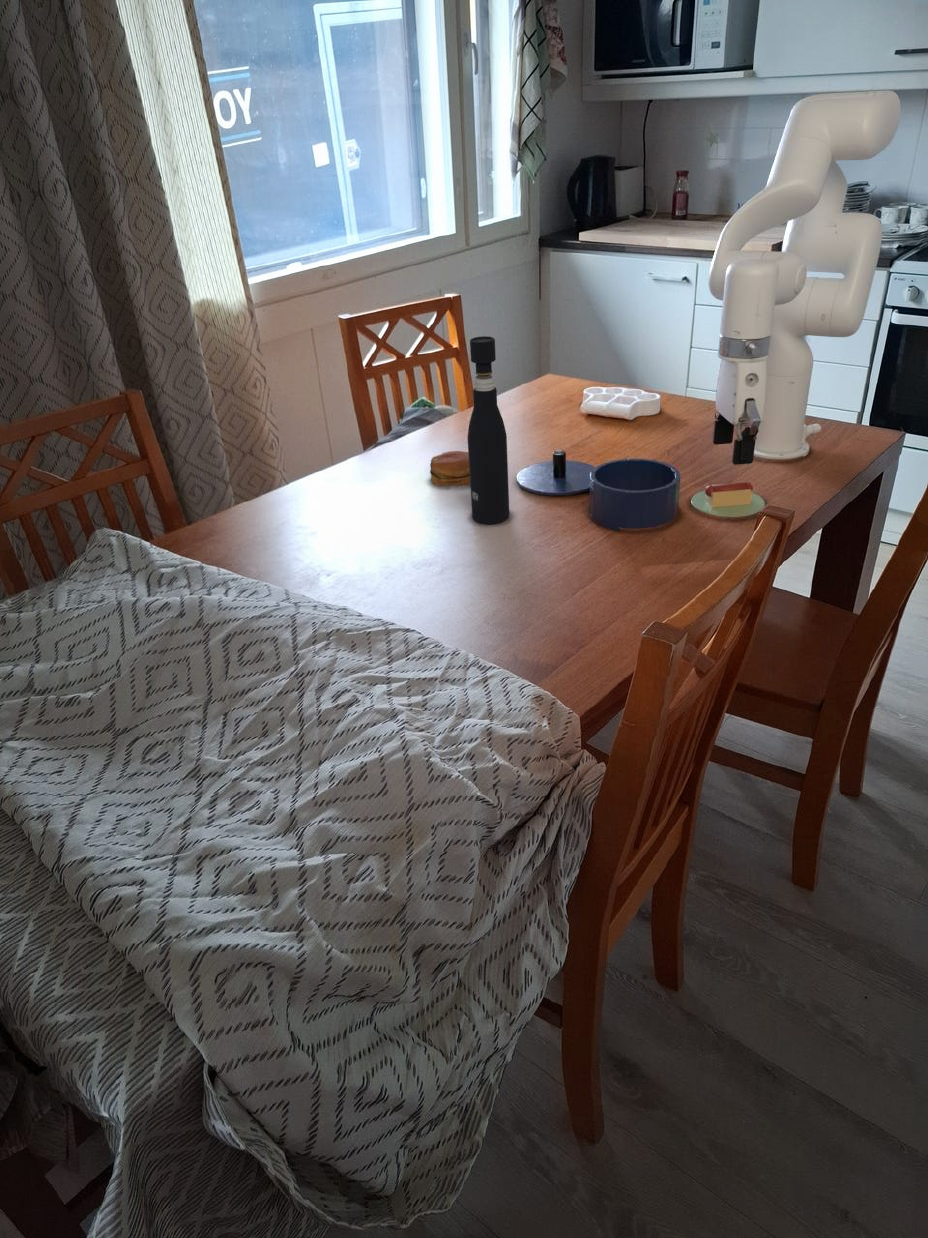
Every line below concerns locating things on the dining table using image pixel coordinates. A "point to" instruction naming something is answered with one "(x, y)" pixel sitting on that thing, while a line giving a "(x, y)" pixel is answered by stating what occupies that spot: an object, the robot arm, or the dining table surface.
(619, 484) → the pot
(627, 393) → the white compartment tray
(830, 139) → the robot arm
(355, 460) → the dining table surface
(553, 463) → the pot lid
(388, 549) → the dining table surface
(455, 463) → the burger
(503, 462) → the black bottle
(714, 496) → the hot dog
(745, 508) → the plate
